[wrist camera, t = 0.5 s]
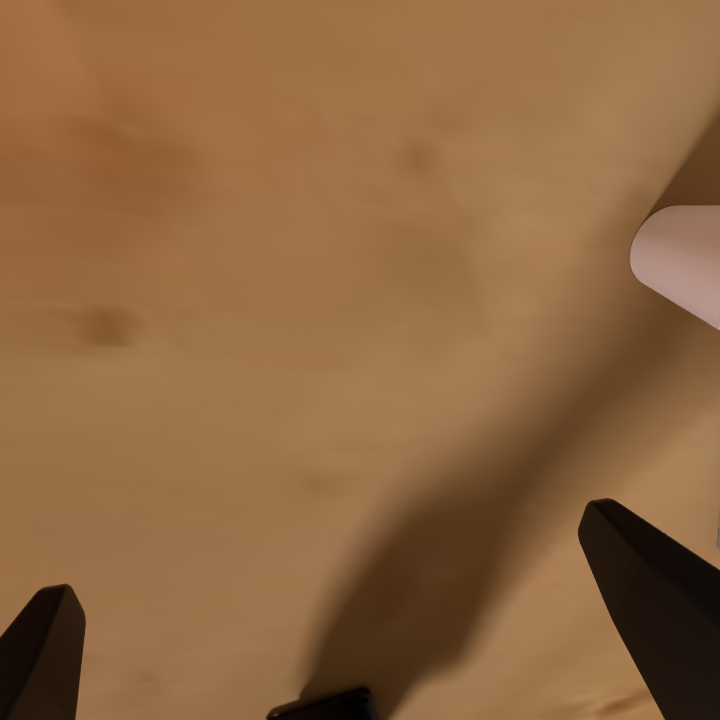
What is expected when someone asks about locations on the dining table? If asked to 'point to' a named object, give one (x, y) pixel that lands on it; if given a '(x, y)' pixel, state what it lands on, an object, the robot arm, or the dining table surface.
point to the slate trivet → (719, 538)
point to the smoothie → (682, 258)
